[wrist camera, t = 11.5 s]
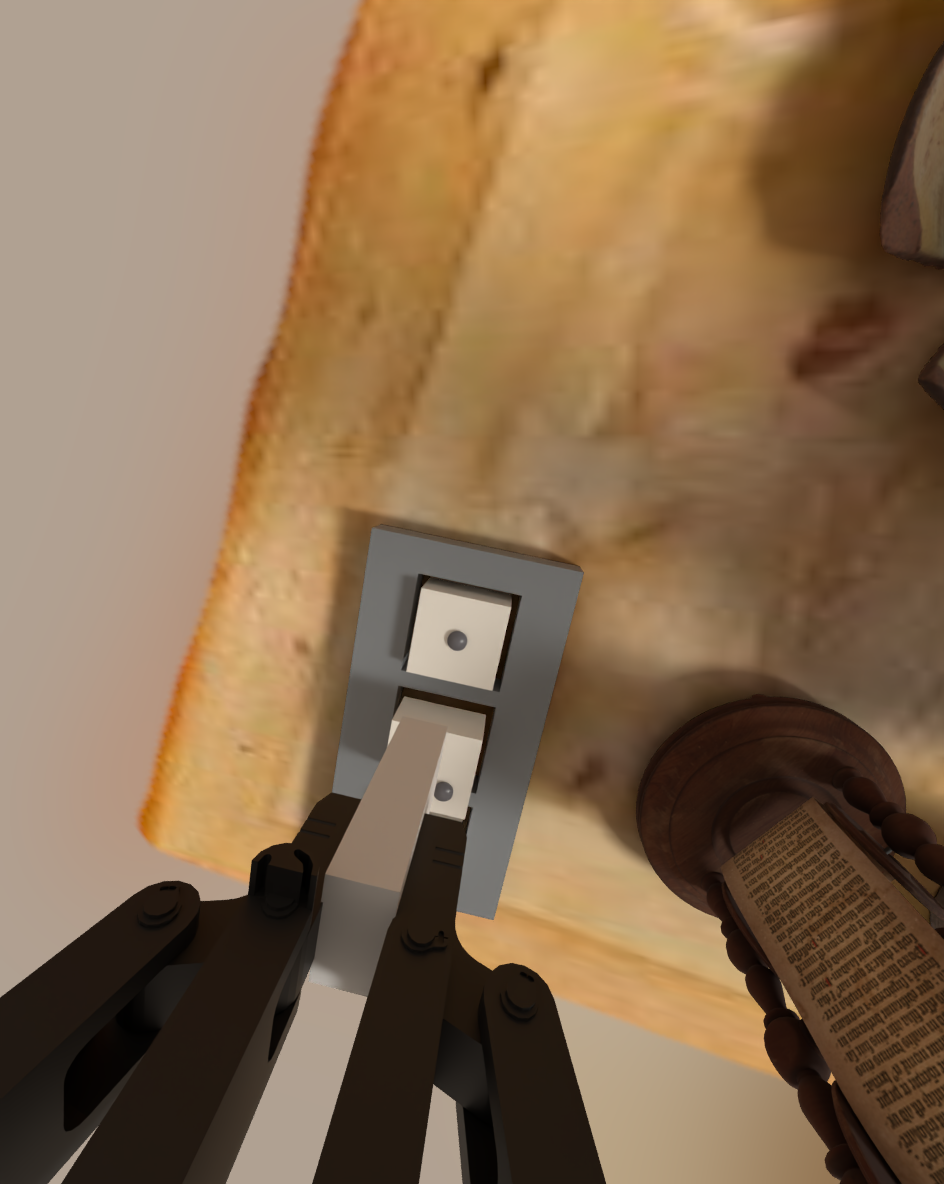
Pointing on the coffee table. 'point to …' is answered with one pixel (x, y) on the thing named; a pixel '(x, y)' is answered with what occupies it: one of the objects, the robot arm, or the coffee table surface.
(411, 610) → the button board
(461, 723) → the white die
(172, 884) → the robot arm
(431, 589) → the white die
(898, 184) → the oil lamp
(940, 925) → the pillar candle
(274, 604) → the coffee table surface
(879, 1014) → the scroll
